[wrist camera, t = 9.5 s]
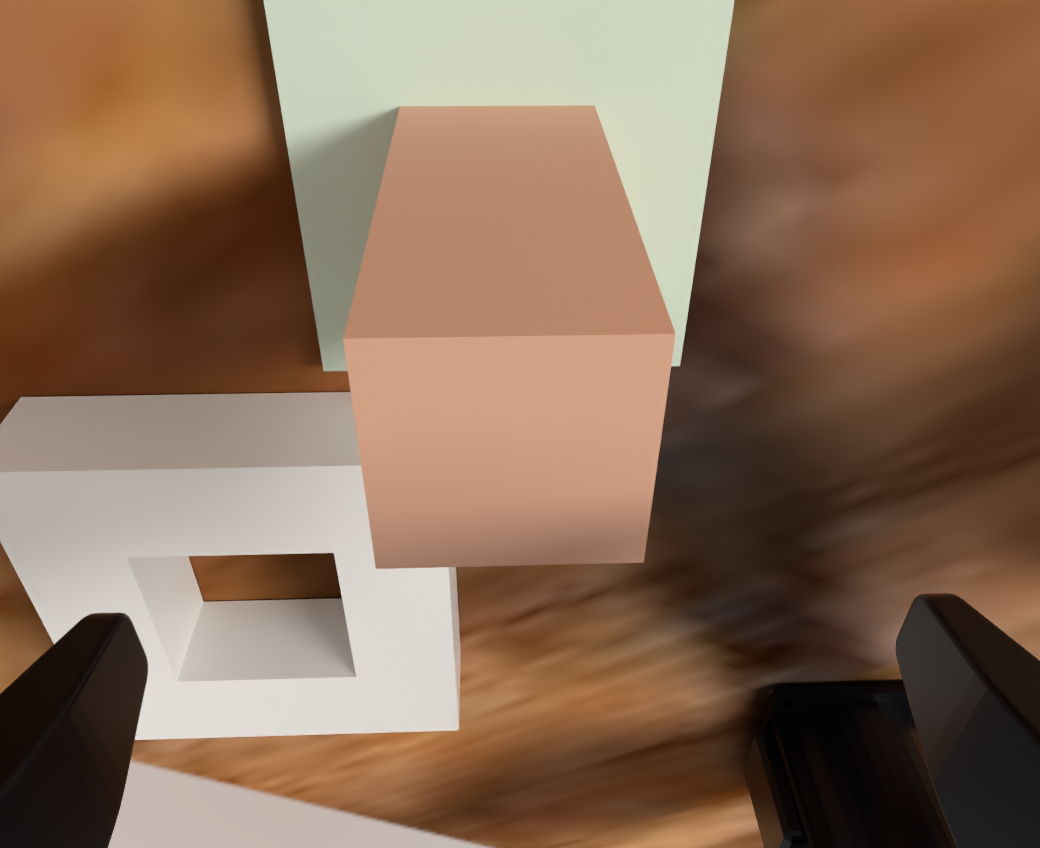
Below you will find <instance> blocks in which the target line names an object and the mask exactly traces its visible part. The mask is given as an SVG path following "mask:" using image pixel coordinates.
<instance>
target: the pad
mask: <svg viewBox="0 0 1040 848" xmlns="http://www.w3.org/2000/svg"><path fill="white" fill-rule="evenodd" d="M263 1H264V7H265V13H266V19H267V25H268V31H269V38H270V44H271V50H272V56H273V62H274V68H275V75H276V81H277V87H278V93H279V99H280V105H281V112H282V118H283V124H284V130H285V136H286V142H287V149H288V155H289V161H290V167H291V173H292V179H293V186H294V192H295V198H296V204H297V210H298V216H299V223H300V229H301V235H302V241H303V247H304V253H305V260H306V266H307V272H308V278H309V284H310V290H311V297H312V303H313V309H314V315H315V321H316V328H317V334H318V340H319V346H320V352H321V358H322V365H323V371H348V370H347V363H346V356H345V349H344V342H343V337H344V333H345V329H346V325H347V321H348V316H349V312H350V308H351V304H352V300H353V296H354V292H355V288H356V284H357V280H358V276H359V271H360V267H361V263H362V259H363V255H364V251H365V247H366V243H367V239H368V235H369V230H370V226H371V222H372V218H373V214H374V210H375V206H376V202H377V198H378V194H379V190H380V185H381V181H382V177H383V173H384V169H385V165H386V161H387V157H388V153H389V149H390V145H391V140H392V136H393V132H394V128H395V124H396V120H397V116H398V112H399V108H400V106H571V105H595V108H596V111H597V113H598V116H599V119H600V122H601V125H602V128H603V130H604V133H605V136H606V139H607V142H608V145H609V147H610V150H611V153H612V156H613V159H614V161H615V164H616V167H617V170H618V173H619V176H620V178H621V181H622V184H623V187H624V190H625V192H626V195H627V198H628V201H629V204H630V207H631V209H632V212H633V215H634V218H635V221H636V224H637V226H638V229H639V232H640V235H641V238H642V240H643V243H644V246H645V249H646V252H647V255H648V257H649V260H650V263H651V266H652V269H653V271H654V274H655V277H656V280H657V283H658V286H659V288H660V291H661V294H662V297H663V300H664V303H665V305H666V308H667V311H668V314H669V317H670V319H671V322H672V325H673V328H674V331H675V334H676V335H675V342H674V349H673V356H672V363H671V366H680V362H681V356H682V349H683V342H684V336H685V329H686V322H687V315H688V309H689V302H690V295H691V289H692V282H693V275H694V268H695V262H696V255H697V248H698V242H699V235H700V228H701V221H702V215H703V208H704V201H705V195H706V188H707V181H708V174H709V168H710V161H711V154H712V148H713V141H714V134H715V127H716V121H717V114H718V107H719V101H720V94H721V87H722V80H723V74H724V67H725V60H726V54H727V47H728V40H729V33H730V27H731V20H732V13H733V7H734V0H263Z"/></svg>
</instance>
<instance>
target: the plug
mask: <svg viewBox="0 0 1040 848" xmlns="http://www.w3.org/2000/svg"><path fill="white" fill-rule="evenodd" d="M675 335H676V334H675V331H674V328H673V325H672V322H671V319H670V317H669V314H668V311H667V308H666V305H665V303H664V300H663V297H662V294H661V291H660V288H659V286H658V283H657V280H656V277H655V274H654V271H653V269H652V266H651V263H650V260H649V257H648V255H647V252H646V249H645V246H644V243H643V240H642V238H641V235H640V232H639V229H638V226H637V224H636V221H635V218H634V215H633V212H632V209H631V207H630V204H629V201H628V198H627V195H626V192H625V190H624V187H623V184H622V181H621V178H620V176H619V173H618V170H617V167H616V164H615V161H614V159H613V156H612V153H611V150H610V147H609V145H608V142H607V139H606V136H605V133H604V130H603V128H602V125H601V122H600V119H599V116H598V113H597V111H596V108H595V105H571V106H400V108H399V112H398V116H397V120H396V124H395V128H394V132H393V136H392V140H391V145H390V149H389V153H388V157H387V161H386V165H385V169H384V173H383V177H382V181H381V185H380V190H379V194H378V198H377V202H376V206H375V210H374V214H373V218H372V222H371V226H370V230H369V235H368V239H367V243H366V247H365V251H364V255H363V259H362V263H361V267H360V271H359V276H358V280H357V284H356V288H355V292H354V296H353V300H352V304H351V308H350V312H349V316H348V321H347V325H346V329H345V333H344V337H343V342H344V349H345V356H346V363H347V370H348V377H349V384H350V391H351V398H352V405H353V412H354V419H355V426H356V433H357V440H358V447H359V454H360V461H361V468H362V475H363V482H364V489H365V496H366V503H367V510H368V517H369V524H370V531H371V538H372V545H373V553H374V560H375V567H376V569H396V568H438V567H480V566H523V565H565V564H607V563H644V556H645V549H646V542H647V535H648V528H649V521H650V513H651V506H652V499H653V492H654V485H655V478H656V471H657V463H658V456H659V449H660V442H661V435H662V428H663V421H664V413H665V406H666V399H667V392H668V385H669V378H670V371H671V363H672V356H673V349H674V342H675Z"/></svg>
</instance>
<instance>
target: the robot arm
mask: <svg viewBox="0 0 1040 848" xmlns="http://www.w3.org/2000/svg"><path fill="white" fill-rule="evenodd" d="M896 656H897V660H898V664H899V668H900V671H901V675H902V679H903V682H904V683H900V684H865V685H829V686H794V687H781V688H779V689H776V690H775V691H773V692H772V694H771V695H770V698H769V701H768V704H767V708H766V711H765V714H764V717H763V720H762V723H761V726H760V729H759V730H758V731H757V733H756V734H755V735H754V737H753V740H752V744H751V747H750V750H749V753H748V756H747V759H746V763H745V766H744V774H745V781H746V785H747V788H748V789H749V792H750V796H751V800H752V804H753V807H754V811H755V815H756V818H757V822H758V826H759V830H760V833H761V837H762V841H763V845H764V848H1040V661H1039V660H1038V659H1037V658H1036V657H1034V656H1033V655H1032V654H1031V653H1029V652H1028V651H1027V650H1026V649H1024V648H1023V647H1022V646H1021V645H1019V644H1018V643H1017V642H1016V641H1014V640H1013V639H1012V638H1011V637H1009V636H1008V635H1007V634H1005V633H1004V632H1003V631H1002V630H1000V629H999V628H998V627H997V626H995V625H994V624H993V623H992V622H990V621H989V620H988V619H987V618H985V617H984V616H983V615H982V614H980V613H979V612H978V611H977V610H975V609H974V608H973V607H972V606H970V605H969V604H968V603H967V602H965V601H964V600H963V599H961V598H960V597H958V596H956V595H953V594H947V593H946V594H922V595H919V596H918V597H916V598H915V599H914V601H913V603H912V605H911V607H910V610H909V612H908V614H907V616H906V619H905V621H904V623H903V625H902V628H901V630H900V632H899V634H898V637H897V641H896ZM147 677H148V661H147V657H146V654H145V651H144V649H143V646H142V644H141V642H140V639H139V637H138V635H137V632H136V630H135V627H134V625H133V623H132V621H131V619H130V617H129V616H128V615H126V614H125V613H93V614H89V615H87V616H86V617H84V618H82V619H81V620H80V621H79V622H78V623H77V624H76V625H74V626H73V627H72V628H71V629H70V630H69V631H68V632H67V633H66V634H65V635H64V636H63V637H61V638H60V639H59V640H58V641H57V642H56V643H55V644H54V645H53V646H52V647H51V648H50V649H48V650H47V651H46V652H45V653H44V654H43V655H42V656H41V657H40V658H39V659H38V660H37V661H35V662H34V663H33V664H32V665H31V666H30V667H29V668H28V669H27V670H26V671H25V672H23V673H22V674H21V675H20V676H19V677H18V678H17V679H16V680H15V681H14V682H13V683H12V684H10V685H9V686H8V687H7V688H6V689H5V690H4V691H3V692H2V693H1V694H0V848H108V845H109V842H110V839H111V836H112V833H113V830H114V826H115V823H116V819H117V816H118V813H119V809H120V806H121V801H122V797H123V793H124V788H125V784H126V778H127V774H128V769H129V764H130V760H131V755H132V750H133V745H134V740H135V736H136V731H137V726H138V721H139V716H140V711H141V707H142V702H143V697H144V692H145V687H146V682H147Z"/></svg>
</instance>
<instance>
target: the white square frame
mask: <svg viewBox="0 0 1040 848" xmlns="http://www.w3.org/2000/svg"><path fill="white" fill-rule="evenodd" d="M0 542H1V544H2V546H3V548H4V550H5V552H6V553H7V555H8V557H9V559H10V561H11V563H12V565H13V567H14V569H15V571H16V573H17V575H18V576H19V578H20V580H21V582H22V584H23V586H24V588H25V590H26V592H27V594H28V596H29V597H30V599H31V601H32V603H33V605H34V607H35V609H36V611H37V613H38V615H39V617H40V618H41V620H42V622H43V624H44V626H45V628H46V630H47V632H48V634H49V636H50V638H51V640H52V641H53V643H54V644H55V643H56V642H57V641H58V640H59V639H60V638H61V637H63V636H64V635H65V634H66V633H67V632H68V631H69V630H70V629H71V628H72V627H73V626H74V625H76V624H77V623H78V622H79V621H80V620H81V619H82V618H84V617H86V616H87V615H89V614H93V613H125V614H126V615H128V616H129V617H130V619H131V621H132V623H133V625H134V627H135V630H136V632H137V635H138V637H139V639H140V642H141V644H142V646H143V649H144V651H145V654H146V657H147V661H148V677H147V682H146V687H145V692H144V697H143V702H142V707H141V711H140V716H139V721H138V726H137V731H136V736H135V740H151V739H185V738H218V737H252V736H285V735H319V734H353V733H386V732H420V731H453V730H459V704H460V658H461V650H460V632H459V614H458V596H457V578H456V567H438V568H396V569H376V567H375V560H374V553H373V545H372V538H371V531H370V524H369V517H368V510H367V503H366V496H365V489H364V482H363V475H362V468H361V461H360V454H359V447H358V440H357V433H356V426H355V419H354V412H353V405H352V398H351V392H317V393H253V394H188V395H124V396H59V397H20V399H19V400H18V401H17V403H16V404H15V406H14V407H13V408H12V410H11V411H10V412H9V414H8V415H7V416H6V418H5V419H4V420H3V422H2V423H1V424H0ZM306 553H334V557H335V563H336V568H337V574H338V579H339V585H340V590H341V596H342V598H337V599H295V600H254V601H213V602H203V599H202V596H201V593H200V590H199V587H198V584H197V581H196V578H195V575H194V572H193V569H192V566H191V563H190V560H189V557H188V556H216V555H261V554H306Z"/></svg>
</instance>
